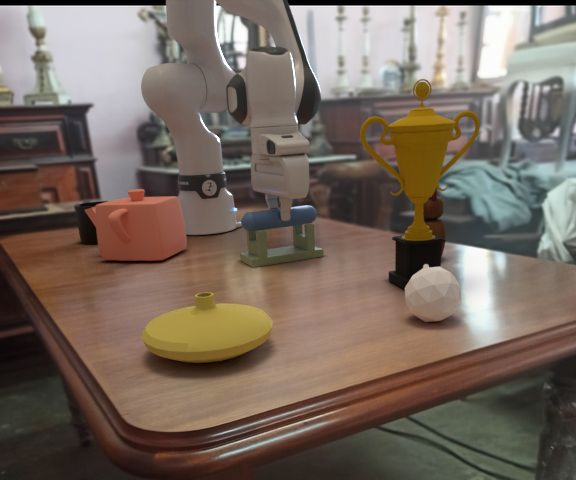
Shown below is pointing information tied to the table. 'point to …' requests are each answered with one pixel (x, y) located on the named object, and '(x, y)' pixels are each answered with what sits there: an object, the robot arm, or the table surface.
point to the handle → (271, 218)
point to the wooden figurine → (435, 217)
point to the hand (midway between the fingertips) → (279, 218)
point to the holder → (281, 248)
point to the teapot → (139, 227)
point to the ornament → (432, 294)
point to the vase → (207, 331)
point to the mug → (86, 223)
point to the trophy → (418, 176)
